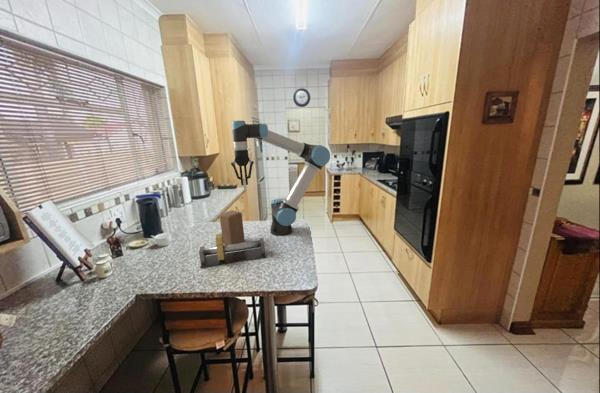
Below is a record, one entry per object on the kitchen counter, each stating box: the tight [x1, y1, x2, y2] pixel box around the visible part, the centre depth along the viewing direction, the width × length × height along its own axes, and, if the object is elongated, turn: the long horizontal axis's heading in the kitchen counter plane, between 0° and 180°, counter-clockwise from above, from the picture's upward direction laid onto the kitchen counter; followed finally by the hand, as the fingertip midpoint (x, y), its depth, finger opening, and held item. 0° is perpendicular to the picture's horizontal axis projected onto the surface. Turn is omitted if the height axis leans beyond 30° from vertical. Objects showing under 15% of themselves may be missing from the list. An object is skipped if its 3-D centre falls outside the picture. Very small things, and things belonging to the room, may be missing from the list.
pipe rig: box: [198, 237, 267, 269], centre depth 136 cm, size 34×12×8 cm, turn 105°
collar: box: [214, 232, 225, 260], centre depth 134 cm, size 3×8×12 cm, turn 15°
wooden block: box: [219, 209, 245, 245], centre depth 154 cm, size 10×10×20 cm
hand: (245, 190), depth 144 cm, fingers closed
